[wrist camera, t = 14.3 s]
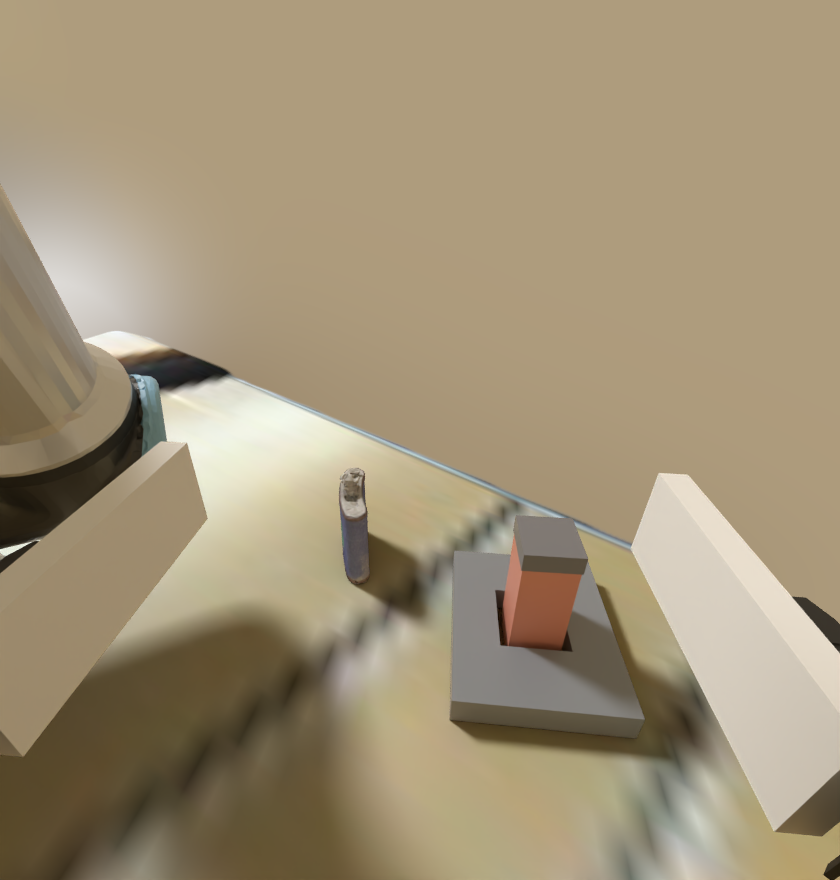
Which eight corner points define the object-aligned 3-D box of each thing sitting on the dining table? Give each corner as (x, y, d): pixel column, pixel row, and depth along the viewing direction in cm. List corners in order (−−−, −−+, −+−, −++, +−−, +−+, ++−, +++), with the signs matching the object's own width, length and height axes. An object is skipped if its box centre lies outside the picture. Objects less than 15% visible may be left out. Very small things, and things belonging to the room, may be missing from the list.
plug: (505, 659, 38) (524, 555, 32) (499, 614, 42) (515, 515, 36) (559, 663, 37) (588, 558, 32) (548, 618, 41) (572, 518, 36)
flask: (371, 583, 45) (366, 500, 40) (342, 586, 44) (334, 503, 39) (367, 527, 53) (363, 452, 48) (343, 529, 52) (336, 453, 47)
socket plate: (449, 719, 33) (451, 700, 32) (453, 567, 47) (454, 550, 46) (636, 738, 32) (645, 719, 31) (582, 577, 46) (587, 560, 45)
